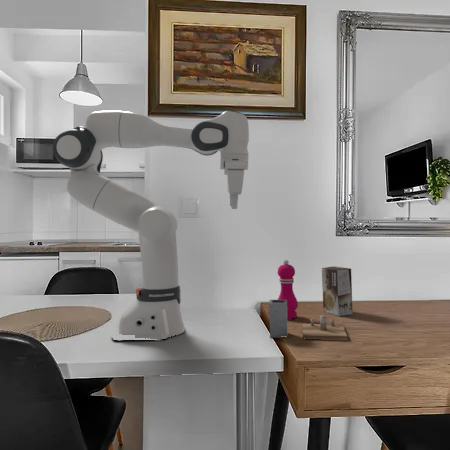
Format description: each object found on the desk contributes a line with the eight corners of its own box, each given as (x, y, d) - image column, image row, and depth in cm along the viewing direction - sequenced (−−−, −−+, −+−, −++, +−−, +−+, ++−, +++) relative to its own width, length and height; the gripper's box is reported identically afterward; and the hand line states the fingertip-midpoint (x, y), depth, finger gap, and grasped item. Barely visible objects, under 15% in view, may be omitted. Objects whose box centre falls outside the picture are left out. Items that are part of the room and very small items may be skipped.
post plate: (347, 340, 105) (346, 321, 105) (303, 339, 107) (302, 321, 107) (342, 328, 117) (341, 311, 117) (302, 327, 119) (302, 310, 119)
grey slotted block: (287, 338, 109) (286, 303, 109) (270, 337, 110) (268, 303, 110) (288, 330, 117) (287, 297, 117) (271, 329, 118) (270, 297, 118)
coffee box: (353, 314, 133) (352, 268, 133) (338, 316, 131) (337, 269, 130) (336, 309, 141) (335, 265, 141) (322, 311, 139) (321, 267, 139)
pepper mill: (298, 320, 128) (296, 260, 127) (276, 319, 129) (274, 261, 129) (298, 314, 135) (296, 258, 135) (277, 314, 136) (276, 258, 136)
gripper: (223, 164, 131) (223, 205, 132) (225, 162, 110) (224, 210, 112) (241, 165, 131) (241, 205, 133) (246, 163, 111) (245, 210, 112)
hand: (233, 207), depth 122 cm, fingers open, 8 cm apart
